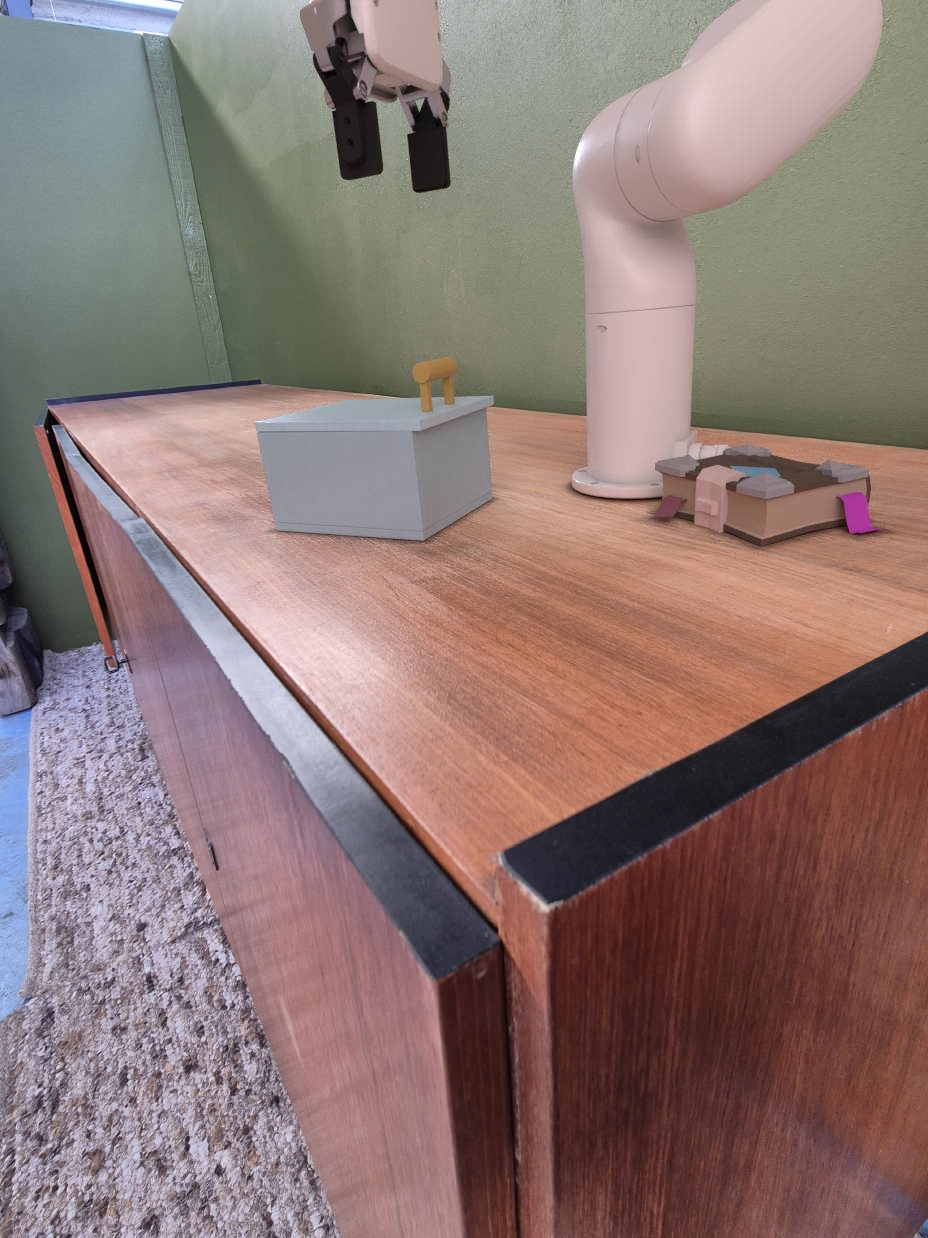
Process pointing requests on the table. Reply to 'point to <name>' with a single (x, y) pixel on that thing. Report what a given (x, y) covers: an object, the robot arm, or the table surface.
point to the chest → (378, 478)
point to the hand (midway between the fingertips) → (399, 183)
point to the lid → (387, 408)
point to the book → (764, 494)
